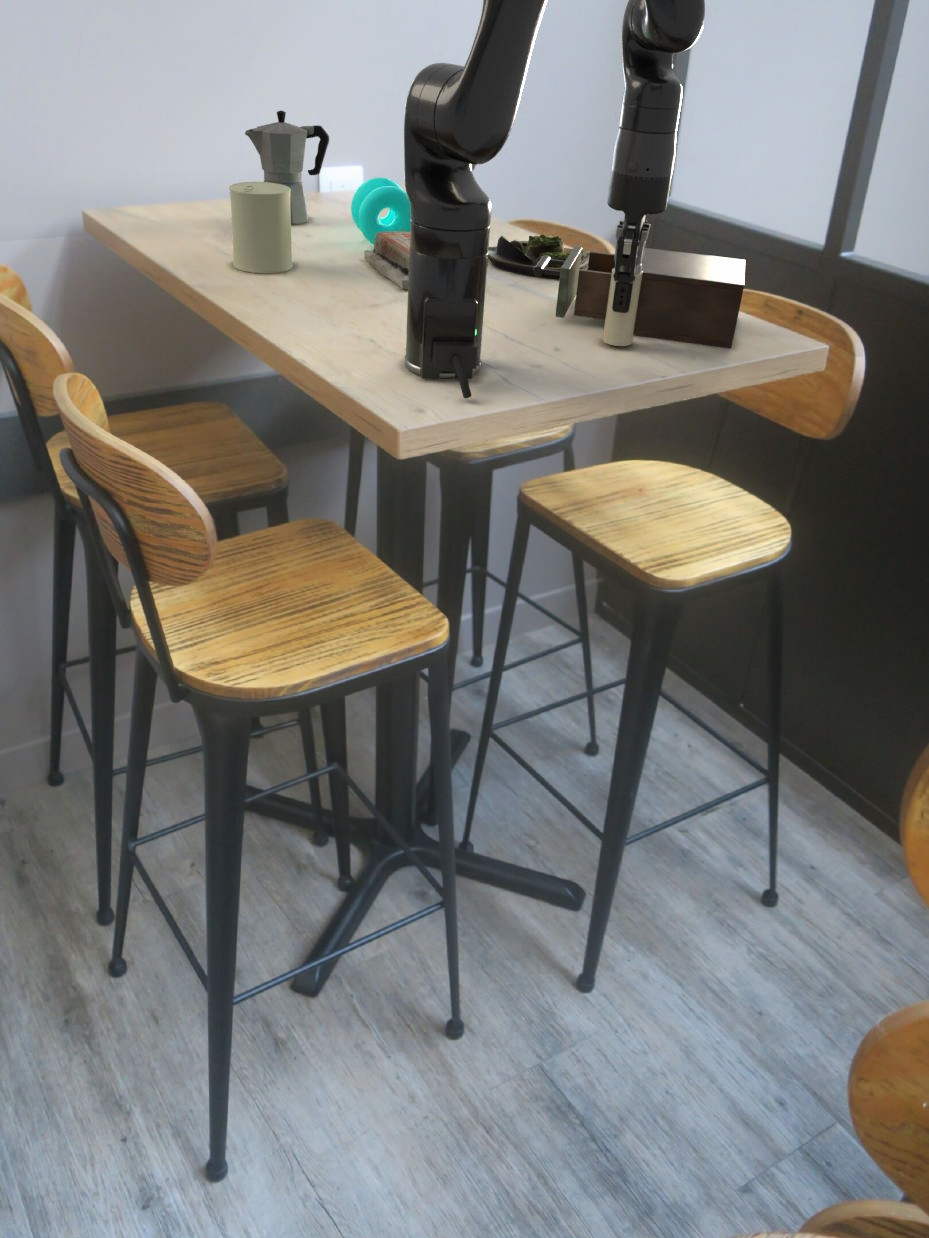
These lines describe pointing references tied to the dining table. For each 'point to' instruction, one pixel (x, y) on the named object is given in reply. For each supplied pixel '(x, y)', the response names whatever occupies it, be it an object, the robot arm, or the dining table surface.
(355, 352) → the dining table surface
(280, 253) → the can
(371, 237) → the donuts
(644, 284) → the cabinet
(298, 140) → the coffeepot
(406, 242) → the packaged product
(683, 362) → the dining table surface
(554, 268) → the salad plate
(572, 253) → the drawer
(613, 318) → the pepper mill
